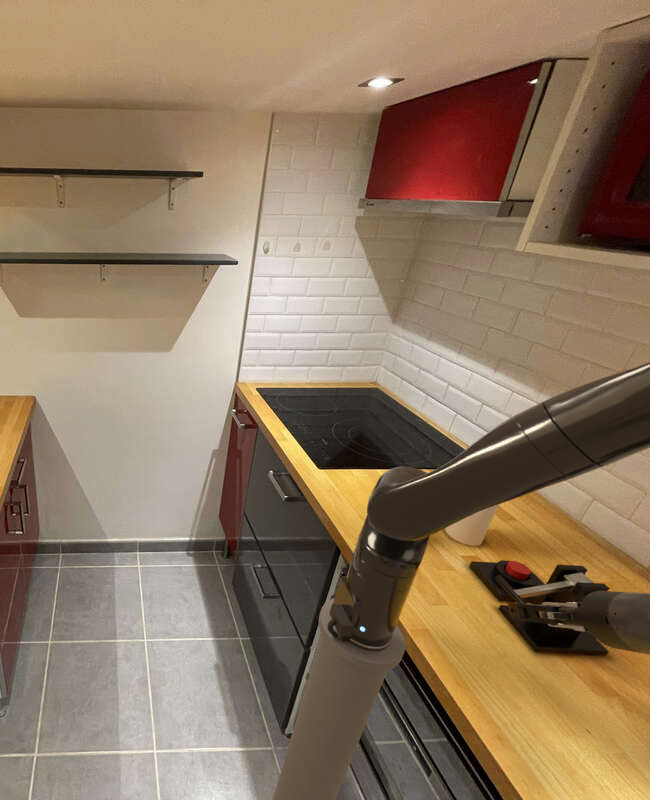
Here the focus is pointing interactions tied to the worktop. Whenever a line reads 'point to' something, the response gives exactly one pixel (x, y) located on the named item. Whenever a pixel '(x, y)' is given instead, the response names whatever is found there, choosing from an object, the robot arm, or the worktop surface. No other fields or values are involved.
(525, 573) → the button
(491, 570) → the block
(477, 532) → the cylindrical container
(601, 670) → the worktop surface
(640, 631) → the robot arm
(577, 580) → the lever
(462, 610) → the worktop surface
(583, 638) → the lever bracket
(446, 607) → the worktop surface
